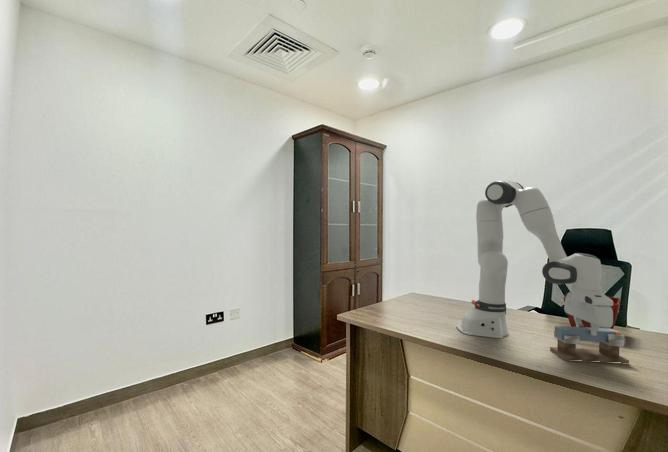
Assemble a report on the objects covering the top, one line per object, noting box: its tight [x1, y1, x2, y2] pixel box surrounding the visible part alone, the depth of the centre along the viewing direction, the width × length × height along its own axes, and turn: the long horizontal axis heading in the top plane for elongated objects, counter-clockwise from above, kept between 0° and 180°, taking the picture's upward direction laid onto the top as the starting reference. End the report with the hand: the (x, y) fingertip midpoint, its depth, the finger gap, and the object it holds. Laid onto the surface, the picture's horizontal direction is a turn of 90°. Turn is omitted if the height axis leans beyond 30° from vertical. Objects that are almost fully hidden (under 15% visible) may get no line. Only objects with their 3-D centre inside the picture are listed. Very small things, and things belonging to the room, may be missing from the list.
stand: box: [549, 329, 630, 364], centre depth 112 cm, size 22×9×10 cm, turn 83°
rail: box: [554, 325, 620, 343], centre depth 113 cm, size 20×4×4 cm, turn 83°
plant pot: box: [563, 294, 622, 330], centre depth 141 cm, size 19×19×17 cm
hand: (586, 331), depth 113 cm, fingers open, 5 cm apart
